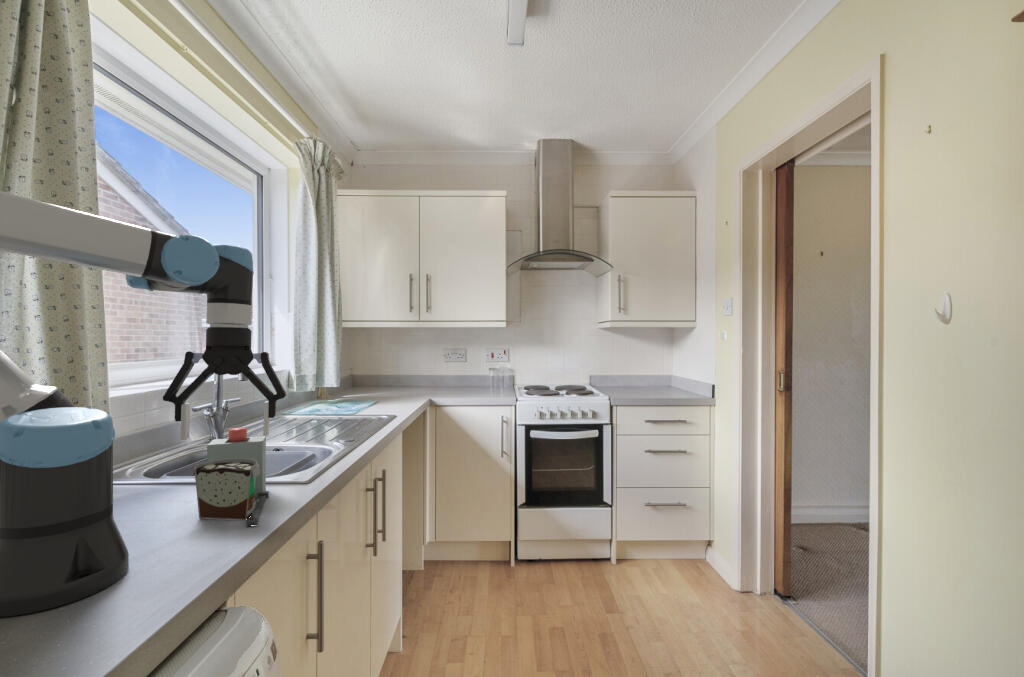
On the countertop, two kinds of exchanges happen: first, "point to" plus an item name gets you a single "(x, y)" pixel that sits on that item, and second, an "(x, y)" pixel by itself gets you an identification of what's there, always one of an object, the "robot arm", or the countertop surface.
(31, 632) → the countertop surface
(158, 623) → the countertop surface
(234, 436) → the button
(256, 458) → the cabinet
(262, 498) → the guide rail
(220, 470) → the food container
